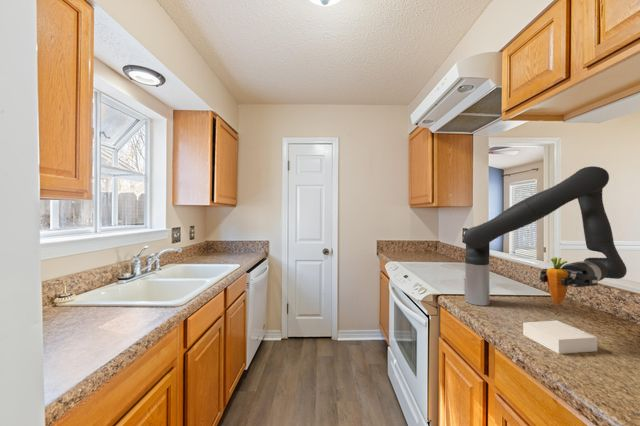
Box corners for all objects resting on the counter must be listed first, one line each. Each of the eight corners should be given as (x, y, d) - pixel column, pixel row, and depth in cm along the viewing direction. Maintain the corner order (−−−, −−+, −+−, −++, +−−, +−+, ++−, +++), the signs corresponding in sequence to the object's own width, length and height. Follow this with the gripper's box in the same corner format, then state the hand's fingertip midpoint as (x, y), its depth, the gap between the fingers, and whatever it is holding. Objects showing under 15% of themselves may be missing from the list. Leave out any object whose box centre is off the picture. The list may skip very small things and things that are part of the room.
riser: (523, 334, 89) (523, 322, 89) (557, 332, 90) (557, 320, 90) (558, 353, 77) (558, 339, 77) (597, 351, 78) (597, 337, 78)
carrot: (558, 302, 86) (557, 255, 86) (573, 308, 81) (572, 257, 81) (543, 303, 86) (541, 255, 86) (557, 308, 81) (556, 258, 81)
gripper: (554, 258, 96) (525, 264, 89) (610, 265, 83) (583, 272, 76) (554, 280, 96) (526, 287, 89) (611, 290, 83) (583, 299, 76)
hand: (552, 280), depth 82 cm, fingers closed on carrot, 4 cm apart
